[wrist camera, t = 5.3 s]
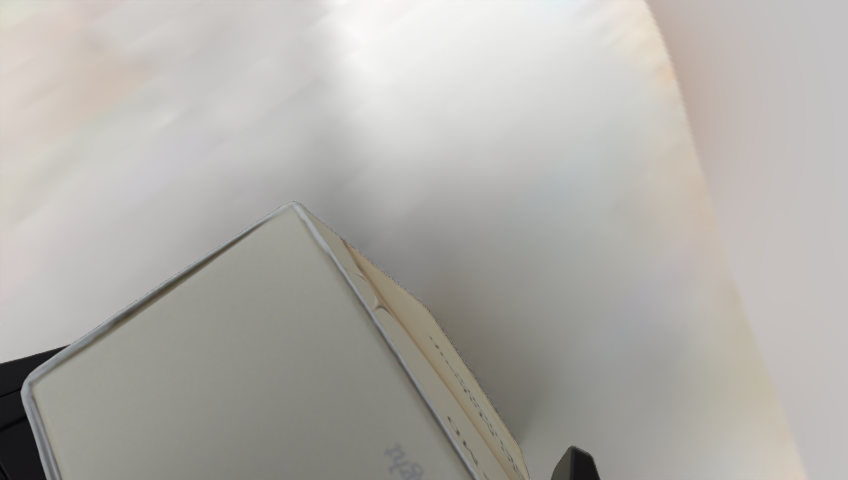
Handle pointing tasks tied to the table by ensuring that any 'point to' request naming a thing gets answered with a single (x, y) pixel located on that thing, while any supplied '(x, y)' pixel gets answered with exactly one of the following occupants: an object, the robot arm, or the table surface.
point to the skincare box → (269, 376)
